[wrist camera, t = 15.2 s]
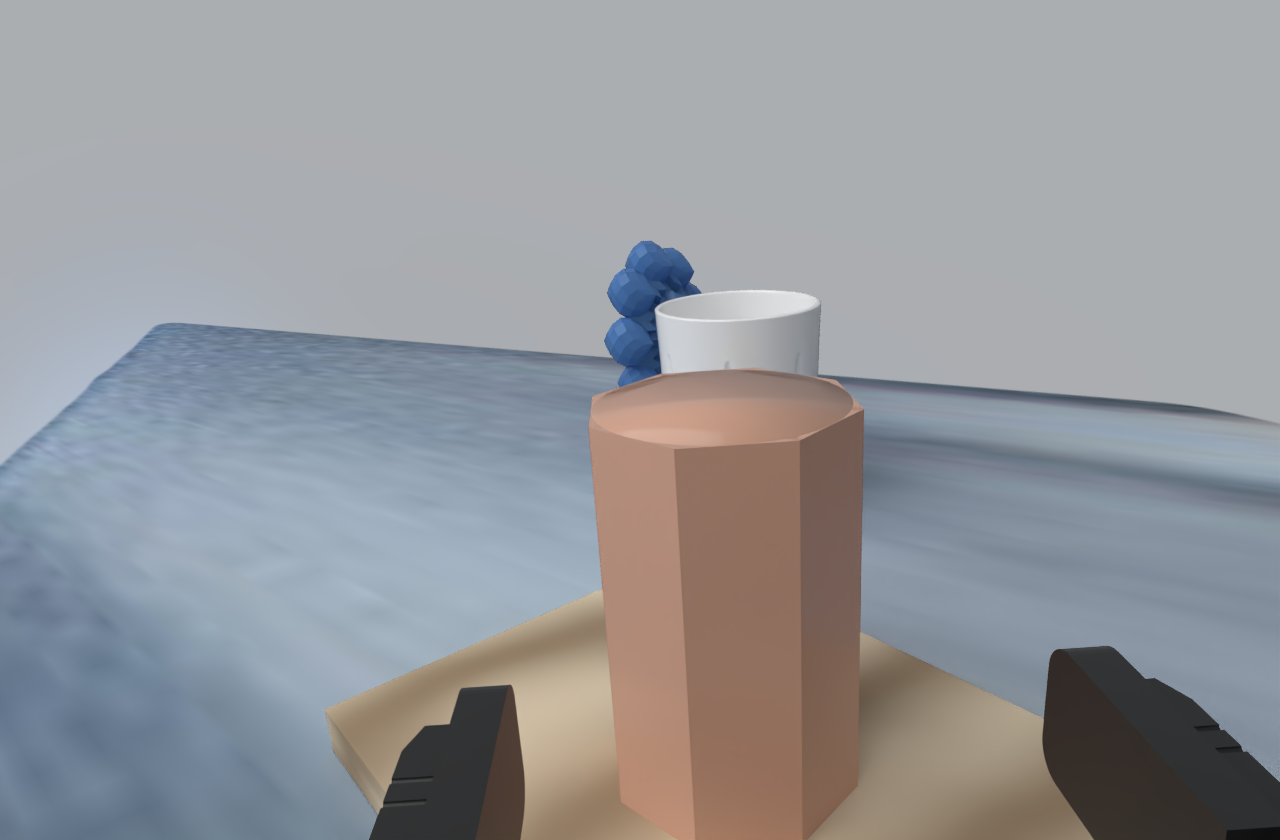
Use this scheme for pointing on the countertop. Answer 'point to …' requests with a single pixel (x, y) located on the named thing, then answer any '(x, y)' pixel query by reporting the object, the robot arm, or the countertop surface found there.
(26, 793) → the countertop surface
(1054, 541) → the countertop surface
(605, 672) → the oak board
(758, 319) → the white cup
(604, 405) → the salmon octagonal post
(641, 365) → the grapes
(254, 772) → the countertop surface
